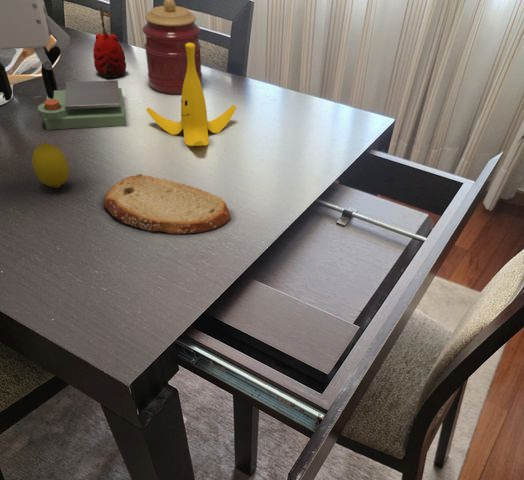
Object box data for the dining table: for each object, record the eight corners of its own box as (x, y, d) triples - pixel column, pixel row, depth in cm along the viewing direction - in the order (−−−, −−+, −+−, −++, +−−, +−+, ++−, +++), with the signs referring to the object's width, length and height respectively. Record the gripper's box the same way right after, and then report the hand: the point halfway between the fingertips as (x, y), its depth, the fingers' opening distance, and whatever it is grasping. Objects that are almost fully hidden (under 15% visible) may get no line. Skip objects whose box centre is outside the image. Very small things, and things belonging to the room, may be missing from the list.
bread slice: (238, 222, 81) (238, 202, 78) (136, 253, 74) (133, 233, 71) (190, 174, 91) (188, 154, 88) (96, 197, 84) (91, 177, 81)
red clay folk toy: (128, 69, 124) (117, -1, 113) (126, 80, 120) (116, 7, 109) (97, 69, 123) (84, -2, 112) (94, 80, 119) (80, 7, 108)
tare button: (45, 111, 99) (43, 104, 98) (46, 106, 100) (44, 99, 99) (60, 111, 99) (58, 104, 98) (60, 105, 101) (58, 98, 100)
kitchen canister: (184, 99, 114) (178, 10, 101) (138, 87, 117) (126, -1, 104) (211, 81, 122) (209, -4, 109) (167, 71, 125) (160, -13, 112)
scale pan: (65, 109, 99) (64, 106, 98) (67, 84, 107) (66, 82, 107) (120, 106, 101) (120, 103, 101) (118, 83, 109) (117, 80, 109)
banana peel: (199, 159, 95) (194, 64, 82) (146, 124, 104) (134, 34, 91) (262, 137, 102) (267, 47, 90) (208, 106, 112) (205, 21, 99)
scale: (42, 130, 100) (36, 113, 97) (46, 100, 110) (41, 84, 107) (126, 126, 103) (123, 109, 100) (122, 97, 113) (120, 81, 110)
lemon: (61, 199, 83) (48, 153, 77) (33, 191, 84) (18, 146, 78) (79, 183, 87) (68, 139, 81) (53, 177, 88) (40, 132, 82)
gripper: (59, -61, 65) (88, 84, 78) (-83, -64, 62) (-27, 88, 75) (56, -50, 60) (88, 103, 73) (-98, -52, 57) (-35, 109, 70)
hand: (30, 94), depth 74 cm, fingers open, 5 cm apart
